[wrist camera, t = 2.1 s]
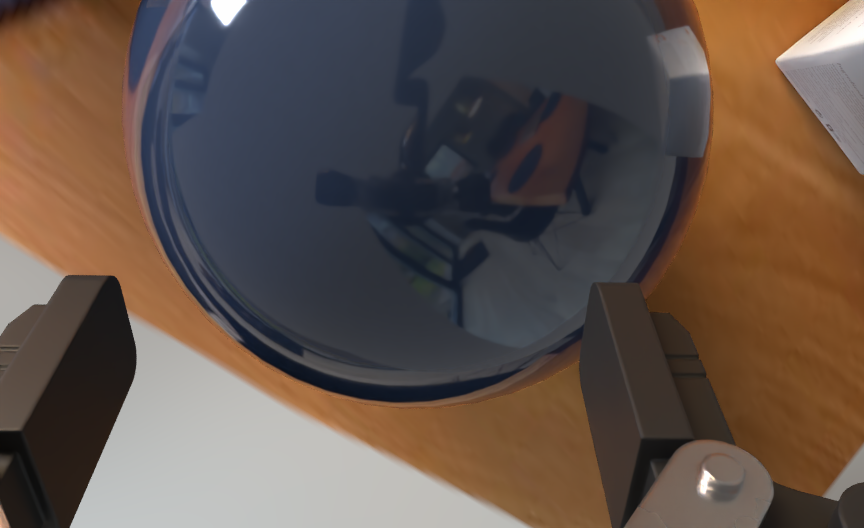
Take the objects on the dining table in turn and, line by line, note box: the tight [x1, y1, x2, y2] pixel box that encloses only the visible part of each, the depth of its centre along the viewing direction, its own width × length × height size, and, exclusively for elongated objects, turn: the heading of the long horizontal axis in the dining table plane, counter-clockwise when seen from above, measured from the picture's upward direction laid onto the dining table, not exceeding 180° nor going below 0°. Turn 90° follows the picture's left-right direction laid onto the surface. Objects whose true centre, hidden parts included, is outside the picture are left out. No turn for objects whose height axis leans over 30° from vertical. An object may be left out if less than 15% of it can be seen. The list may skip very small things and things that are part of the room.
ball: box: [122, 0, 713, 409], centre depth 27 cm, size 18×18×19 cm
